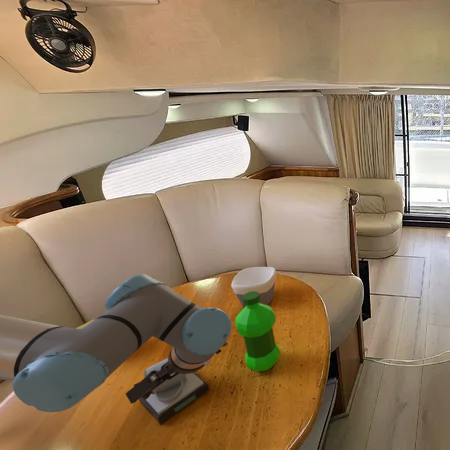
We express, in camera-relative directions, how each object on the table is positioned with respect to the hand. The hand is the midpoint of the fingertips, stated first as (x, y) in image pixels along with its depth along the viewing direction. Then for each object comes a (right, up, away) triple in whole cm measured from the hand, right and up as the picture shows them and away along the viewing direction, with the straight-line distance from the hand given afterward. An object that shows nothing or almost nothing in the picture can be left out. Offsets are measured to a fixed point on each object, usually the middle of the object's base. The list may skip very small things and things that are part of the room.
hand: (176, 373), depth 77 cm
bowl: (-3, +6, +51) cm, 51 cm away
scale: (-6, -10, +9) cm, 15 cm away
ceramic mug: (-6, -7, +7) cm, 12 cm away
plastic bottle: (+14, -6, +19) cm, 24 cm away
